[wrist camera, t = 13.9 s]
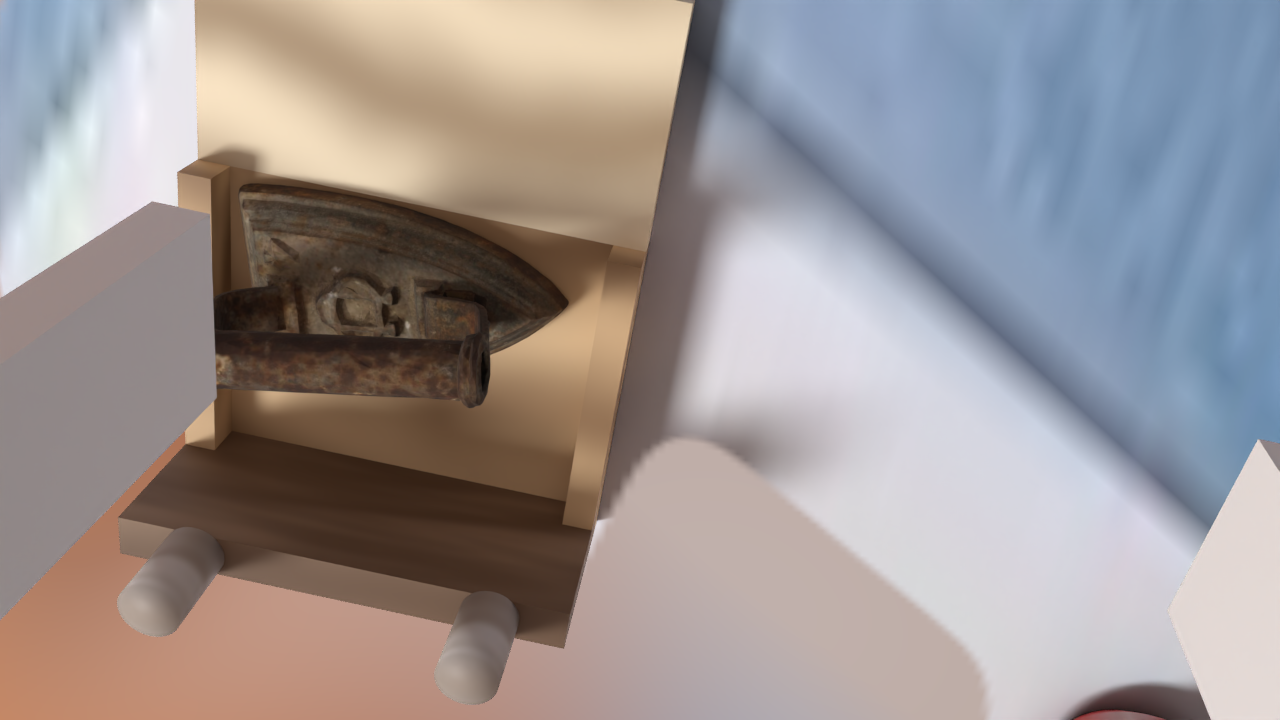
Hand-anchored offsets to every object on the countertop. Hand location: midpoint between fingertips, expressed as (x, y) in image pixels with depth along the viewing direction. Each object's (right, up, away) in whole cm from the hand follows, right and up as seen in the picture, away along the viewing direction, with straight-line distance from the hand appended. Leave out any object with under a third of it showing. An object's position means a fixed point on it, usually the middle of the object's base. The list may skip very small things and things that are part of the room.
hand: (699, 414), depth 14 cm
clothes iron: (-9, +3, +24) cm, 26 cm away
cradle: (-8, +5, +24) cm, 26 cm away
